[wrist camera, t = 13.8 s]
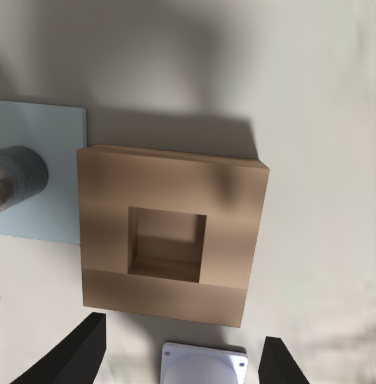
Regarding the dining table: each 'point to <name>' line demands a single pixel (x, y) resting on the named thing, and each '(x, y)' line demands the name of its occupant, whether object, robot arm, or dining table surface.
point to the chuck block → (168, 231)
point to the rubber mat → (56, 165)
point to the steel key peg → (20, 175)
